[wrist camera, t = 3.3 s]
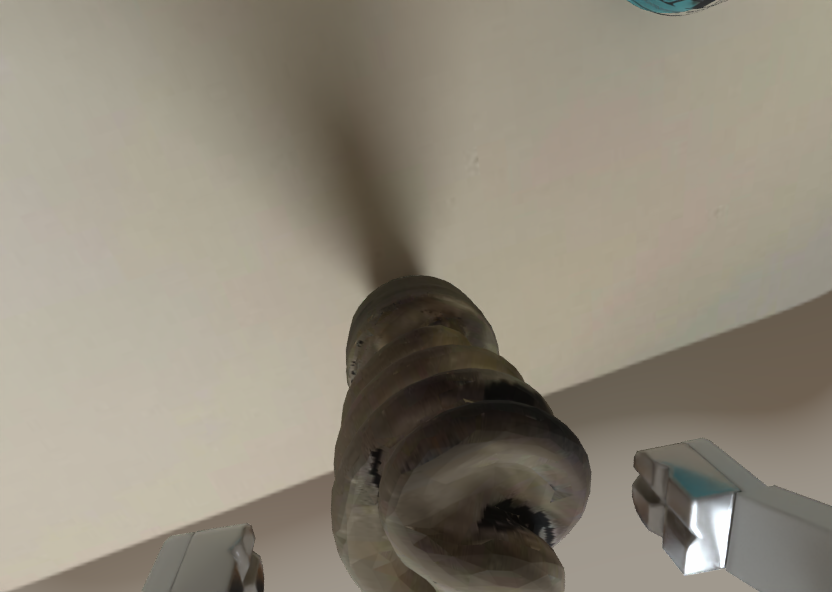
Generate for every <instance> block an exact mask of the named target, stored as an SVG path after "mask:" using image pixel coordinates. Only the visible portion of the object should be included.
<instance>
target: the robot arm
mask: <svg viewBox="0 0 832 592" xmlns="http://www.w3.org/2000/svg"><path fill="white" fill-rule="evenodd" d="M634 468H635V470H636V471H637V472H638V473H639V476H638V477H637V479H636V480H635V481H634V483H633V485H632V498H633V502H634V505H635V509H636V511H637V513H638V515H639V517H640V519H641V521H642V522H643V523H644V525H645V526H646V527H647V529H648V530H649V531H651V532H653V533H655V534H657V535H659V536H661V537H662V538H663V549H664V550H665V551H666V553H667V554H668V555H669V557H670V558H671V559H672V560H673V562H674V563H675V564H676V565H677V567H678V568H679V569H680V570H681V572H682V573H683V574H684V575H690V574H696V573H701V572H706V571H712V570H718V569H723V568H726V571H727V572H729V573H731V574H732V575H734V576H736V577H737V578H739V579H740V580H742V581H743V582H745V583H747V584H748V585H750V586H752V587H753V588H755V589H756V590H758V591H760V592H832V506H830V505H827V504H825V503H822V502H819V501H817V500H814V499H811V498H808V497H805V496H803V495H800V494H797V493H794V492H791V491H789V490H786V489H783V488H781V487H778V486H775V485H774V486H769V487H768V486H766V485H765V484H764V483H763V482H761V481H760V480H759V479H758V478H756V477H755V476H754V475H753V474H751V473H750V472H749V471H748V470H746V469H745V468H744V467H743V466H741V465H740V464H739V463H738V462H737V461H735V460H734V459H733V458H731V457H730V456H729V455H728V454H727V453H725V452H724V451H723V450H722V449H720V448H719V447H718V446H717V445H715V444H714V443H713V442H712V441H710V440H708V439H705V438H699V439H695V440H689V441H685V442H681V443H677V444H672V445H666V446H661V447H656V448H651V449H646V450H640V451H637V452H636V454H635V456H634ZM254 542H255V536H254V532H253V529H252V526H251V525H250V524H248V523H245V524H239V525H233V526H226V527H220V528H214V529H208V530H201V531H197V532H192V533H186V534H180V535H174V536H170V537H169V538H168V539H167V540H166V541H165V542H164V543H163V546H162V548H161V550H160V552H159V554H158V556H157V558H156V561H155V563H154V565H153V567H152V569H151V571H150V574H149V576H148V578H147V581H146V582H145V584H144V587H143V589H142V591H141V592H264V574H263V565H262V561H261V558H260V556H259V555H258V554H257V553H255V552H254V551H253V547H254Z"/></svg>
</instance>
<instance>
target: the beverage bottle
mask: <svg viewBox="0 0 832 592" xmlns="http://www.w3.org/2000/svg"><path fill="white" fill-rule="evenodd" d="M628 1H629V2H630V3H632V4H633V5H635V6H637V7H639V8H641V9H644V10H647V11H651V12H654V13H657V12H658V13H657V14H660V13H678V12H684V11H688V10H691V9H699V8H706V7H704V6H706V5H708V4H710V3H711V2H713V1H715V0H628ZM719 1H720V0H719ZM726 1H727V0H726ZM716 3H717V2H716ZM719 3H720V2H719ZM719 3H718V4H719ZM715 5H717V4H715ZM712 6H714V4H713V5H712ZM712 6H711V7H712ZM709 7H710V6H709ZM698 11H700V10H698ZM701 11H702V10H701ZM691 12H694V11H691ZM687 13H688V12H687ZM695 13H696V11H695ZM661 15H665V14H661ZM686 15H688V14H686ZM667 16H682V15H667Z"/></svg>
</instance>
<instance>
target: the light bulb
mask: <svg viewBox="0 0 832 592" xmlns="http://www.w3.org/2000/svg"><path fill="white" fill-rule="evenodd" d="M346 365H347V368H346V374H347V383H348V386H349V390H348V392H347V395H346V398H345V402H344V405H343V412H342V421H341V428H340V431H339V435H338V438H337V442H336V446H335V456H334V474H335V481H334V485H333V488H332V501H331V516H332V530H333V534H334V538H335V542H336V546H337V550H338V553H339V556H340V558H341V560H342V562H343V563H344V565H345V567H346V569H347V571H348V572H349V574H350V576H351V578H352V579H353V580H354V582H355V583H356V584H357V586H358V587H359V588H360V590H361V591H362V592H564V589H565V572H564V567H563V566H562V564H561V562H560V561H559V559H558V557H557V556H556V554H555V552H554V550H553V549H552V548H553V547H554V546H555V545H556V544H558V543H559V542H560V541H561V540H562V539H563V538H564V537H565V536H566V535H567V534H568V533H569V532H570V531H571V530H572V528H573V527H574V526H575V525H576V523H577V522H578V521H579V519H580V518H581V516H582V514H583V512H584V510H585V507H586V504H587V500H588V497H589V494H590V484H591V469H590V465H589V460H588V455H587V454H586V452H585V450H584V448H583V446H582V445H581V443H580V441H579V439H578V438H577V436H576V435H575V434H574V433H573V432H572V431H571V430H570V429H569V428H568V427H567V426H566V425H565V424H564V423H562V422H561V421H560V420H559V419H557V418H556V417H554V415H553V412H552V410H551V408H550V407H549V405H548V404H547V402H546V401H545V400H544V398H543V397H542V396H541V395H540V394H539V393H538V392H537V391H536V390H535V389H533V388H532V387H531V386H530V385H528V384H527V383H525V382H524V380H523V378H522V376H521V375H520V373H519V372H518V371H517V369H516V368H515V367H514V366H513V365H512V364H510V363H509V362H508V361H507V360H505V359H504V358H503V357H502V356H500V355H499V349H498V344H497V341H496V337H495V334H494V332H493V330H492V327H491V325H490V324H489V322H488V321H487V320H486V318H485V317H484V315H483V313H482V312H481V311H480V310H479V309H478V308H477V306H476V305H475V304H474V303H473V302H472V301H471V300H470V299H469V298H468V297H467V296H466V295H465V294H464V293H463V292H462V291H461V290H459V289H458V288H456V287H455V286H453V285H452V284H451V283H449V282H447V281H444V280H441V279H438V278H435V277H431V276H422V275H421V276H408V277H402V278H398V279H395V280H392V281H390V282H388V283H386V284H384V285H382V286H380V287H378V288H377V289H376V290H374V291H373V292H372V293H371V294H369V295H368V296H367V298H366V299H365V300H364V301H363V302H362V304H361V305H360V306H359V307H358V309H357V311H356V313H355V314H354V316H353V319H352V323H351V327H350V331H349V336H348V341H347V347H346Z"/></svg>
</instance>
